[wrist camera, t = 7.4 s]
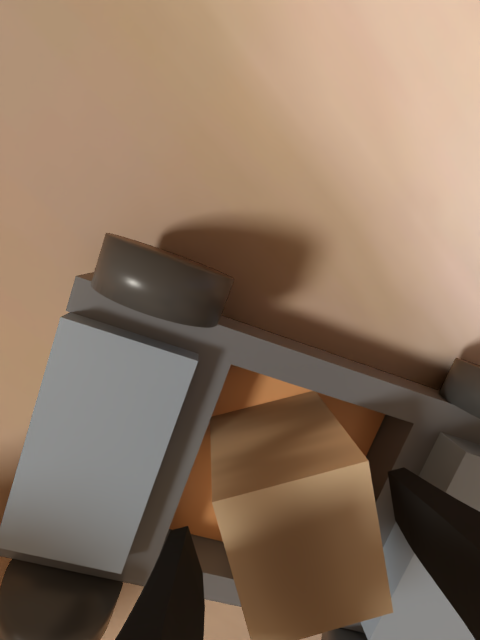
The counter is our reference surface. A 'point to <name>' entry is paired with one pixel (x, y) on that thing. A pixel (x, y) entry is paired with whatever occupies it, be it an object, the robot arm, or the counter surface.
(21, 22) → the counter surface
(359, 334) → the counter surface
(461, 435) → the car chassis
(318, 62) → the counter surface
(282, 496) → the engine block
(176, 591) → the robot arm
